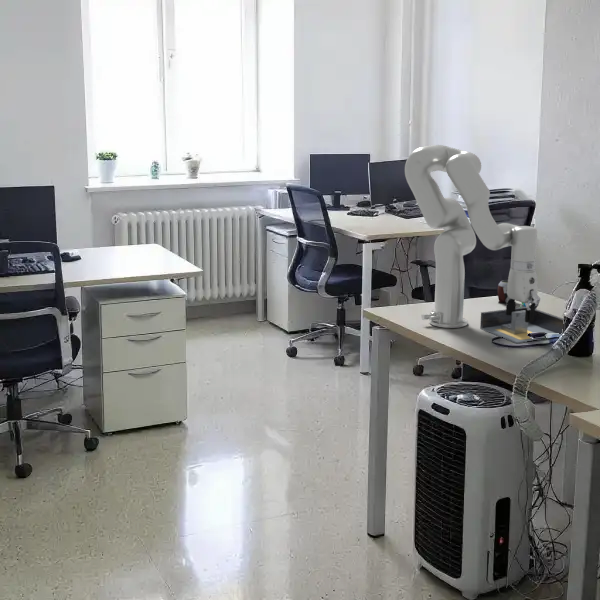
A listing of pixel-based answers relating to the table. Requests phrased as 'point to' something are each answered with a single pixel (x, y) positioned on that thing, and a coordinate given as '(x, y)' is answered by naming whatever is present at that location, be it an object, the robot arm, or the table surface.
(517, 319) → the bracket
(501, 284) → the mate gourd
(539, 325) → the tray
